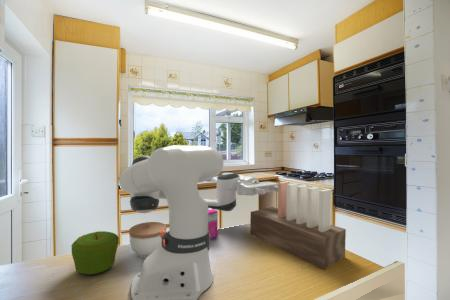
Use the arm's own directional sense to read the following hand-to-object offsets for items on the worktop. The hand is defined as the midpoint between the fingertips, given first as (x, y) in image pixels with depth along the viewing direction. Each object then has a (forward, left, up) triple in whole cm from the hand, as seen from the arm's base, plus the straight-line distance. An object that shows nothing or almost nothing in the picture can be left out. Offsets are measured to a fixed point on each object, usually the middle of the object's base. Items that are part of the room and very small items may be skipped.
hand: (272, 191), depth 98 cm
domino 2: (+3, -10, -9) cm, 14 cm away
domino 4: (+6, -19, -9) cm, 22 cm away
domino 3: (+5, -15, -9) cm, 18 cm away
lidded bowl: (-51, -3, -19) cm, 55 cm away
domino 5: (+8, -23, -9) cm, 26 cm away
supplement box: (-27, +5, -19) cm, 34 cm away
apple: (-66, -10, -19) cm, 70 cm away
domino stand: (+3, -11, -19) cm, 22 cm away
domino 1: (+2, -6, -9) cm, 11 cm away
